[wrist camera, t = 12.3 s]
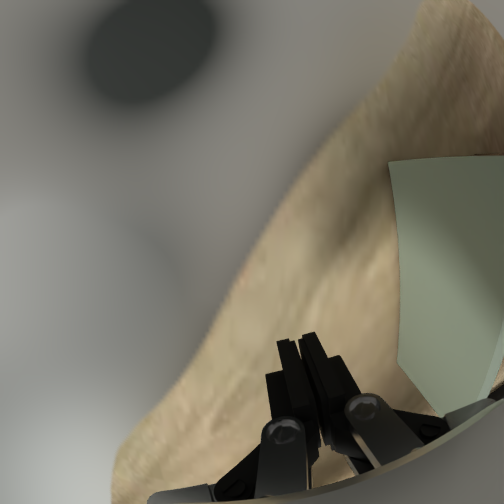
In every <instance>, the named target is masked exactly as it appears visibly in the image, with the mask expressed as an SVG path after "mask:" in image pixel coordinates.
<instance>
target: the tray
mask: <svg viewBox="0 0 504 504" xmlns="http://www.w3.org/2000/svg"><path fill="white" fill-rule="evenodd" d="M388 166H389V172H390V178H391V184H392V190H393V197H394V205H395V213H396V223H397V233H398V246H399V264H400V323H399V341H398V354H397V364H398V365H399V366H400V367H401V369H402V370H403V371H404V372H405V374H406V375H407V376H408V377H409V379H410V380H411V381H412V382H413V384H414V385H415V386H416V387H417V389H418V390H419V391H420V392H421V394H422V395H423V396H424V398H425V399H426V400H427V401H428V403H429V404H430V405H431V407H432V408H433V409H434V411H435V412H436V413H437V414H438V416H439V417H440V418H441V417H444V415H445V414H446V413H449V412H452V411H455V410H457V409H460V408H462V407H465V406H467V405H470V404H472V403H474V402H477V401H479V400H481V399H485V398H487V397H488V395H489V393H490V390H491V388H492V386H493V383H494V381H495V378H496V376H497V373H498V371H499V368H500V365H501V362H502V360H503V357H504V156H457V157H438V158H423V159H410V160H400V161H391V162H388Z"/></svg>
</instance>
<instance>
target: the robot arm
mask: <svg viewBox="0 0 504 504" xmlns="http://www.w3.org/2000/svg"><path fill="white" fill-rule="evenodd" d="M276 342H277V346H278V351H279V355H280V360H281V364H282V368H283V370H281V371H277V372H273V373H268V374H265V376H266V383H267V390H268V397H269V403H270V410H271V417H272V420H271V421H269V422H268V423H267V424H266V425H265V426H264V428H263V430H262V433H261V442H260V444H259V445H258V446H257V447H256V448H255V449H254V450H253V451H252V452H251V453H250V454H248V455H247V456H246V457H245V458H244V459H243V460H242V461H241V462H240V463H238V464H237V465H236V466H235V467H234V468H233V469H232V470H230V471H229V472H228V473H227V474H226V475H225V476H223V477H222V478H221V479H220V480H219V481H218V482H217V483H216V484H212V485H208V484H207V483H206V484H202V485H197V486H192V487H186V488H180V489H174V490H167V491H160V492H156V493H154V494H153V495H151V496H150V497H149V499H148V500H147V504H504V399H501V400H499V401H497V402H496V401H495V400H493V399H491V398H485V399H481V400H479V401H477V402H474V403H472V404H470V405H467V406H465V407H462V408H460V409H457V410H455V411H452V412H449V413H446V414H445V415H444V417H441V418H439V417H436V416H430V415H423V414H417V413H411V412H405V411H400V410H394V409H392V408H391V407H390V406H389V405H388V404H387V403H386V402H385V401H384V400H383V399H382V398H381V397H380V396H378V395H376V394H372V393H363V394H362V393H361V392H360V390H359V388H358V386H357V384H356V383H355V381H354V379H353V377H352V375H351V374H350V372H349V370H348V368H347V367H346V365H345V363H344V361H343V360H342V358H341V356H340V355H337V356H334V357H330V358H328V357H327V355H326V353H325V351H324V349H323V347H322V345H321V343H320V341H319V339H318V337H317V335H316V333H315V332H311V333H308V334H304V335H302V339H298V343H299V348H300V354H301V358H300V355H299V352H298V349H297V346H296V343H295V341H289V338H288V339H284V340H280V341H276ZM319 428H320V430H319ZM320 431H321V434H322V437H323V441H324V444H325V446H326V445H330V446H331V449H332V451H333V450H335V451H336V452H338V453H341V454H344V457H345V459H346V461H347V463H348V464H349V466H350V467H351V469H352V471H353V472H354V474H355V476H354V477H351V478H348V479H345V480H342V481H339V482H336V483H332V484H329V485H325V486H321V487H317V488H313V480H312V465H313V464H314V462H315V461H316V460H317V459H318V457H319V451H318V448H319V447H321V439H320Z"/></svg>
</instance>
